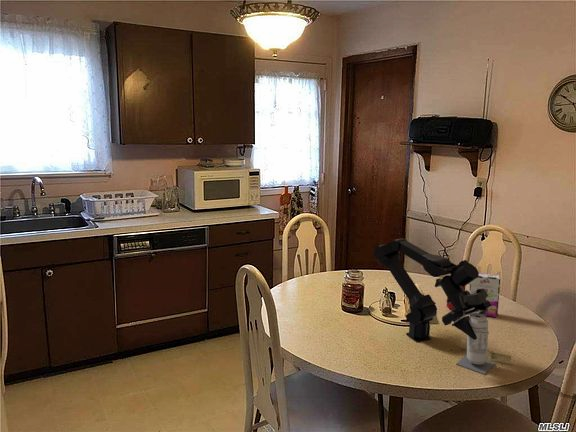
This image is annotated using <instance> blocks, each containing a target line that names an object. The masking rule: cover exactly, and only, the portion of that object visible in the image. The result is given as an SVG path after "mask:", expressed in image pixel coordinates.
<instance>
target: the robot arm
mask: <svg viewBox="0 0 576 432" xmlns="http://www.w3.org/2000/svg"><path fill="white" fill-rule="evenodd" d="M400 253H401V254H403V255H405V256H406V257H408V258H410V259H411V260H413V261H415V262H416V263H418V264H420V265H421V266H422V267H423V269H424V271H425V272H426V273H427V274H429V275H430V276H431V277H433V278H436V279H435V283H434V284H435V285H434V287H435V288H438V287H440V288H441V289H442V291H443V292H444V294H445V295H446V298H447V297H448V300H447V299H446V304H447V303H451V304H452V306H453V308H454V309H455V310H451V311H449V312H448V313H446V314H444V315H443V316H441V321H442V323H443V324H444V326H445V327H446V326H448V325H451V326H452V327H455V328H456V329H458V330H459V331H461V332H462V333H464V334H465V335H468V336H470V337H471V338H472V339H474V340H476V339H477V337H476V335H475V333H474V331H473V329H472V327H471V325H470V323H469V317H470V314H472V313H480V314H484V315H485V314H486V311H487V310H488V308H489V307H491V306H492V305H491V304H490V302H489V301H488V300H486V298H487V297H488V294H487V293H486V291H485V290H484V289H483V288H482V289H478V290H476V293H473V294H470V293H469V290H467V289H465V291H464V290H463V288H462V286H465V287H466V286H467V285H470V282H472V281H473V280H475V279H476V278H478V276H479V273H480V272H479V270H478V268H477V267H476V266H474V265H473V264H472V263H470V262H468V260H467V259H464V260H461V261H460V262H459V263H458V264H455V263H454V262H452V261H451V260H450V259H449V258H447V257H444V256H441V255H438V254H432V253H429V252H428V251H426V250H425V249H422V248H420V247H419V246H417V245H415V244H413V243H412V242H411V241H410V242H409V241H408V240H407V239H406V238H403V237H402V238H396V239H394V240H393V241H391V242H388V243H386V244H380V245H376V246H375V248H374V251H373V256H374V258H375V259H376V261H377V262H378V263H379V264H380V265H382V266H383V267H385V268H387V270H388V271H389V272H390V273H391V275H392V277H393V278H394V280H395V282H396V283H397V284H398V286H399V287H400V289H401V290H402V292H403V293H404V295H405V296H406V298H407V299H408V303H409V304H408V305H409V310H410V312H409V313H407V314H406V315H405V319H406V322H408V323H409V328H408V332H406V333H405V335H406V336H408V337H409V338H410V339H412V340H413V341H414V342H416V343H417V342H422V341H429V340H432V337H431V336H430V335H431V334H430V332H431V331H430V330H431V323H430V321H433V319H434V318H435V317H436V316H437V314H438V307H437V305H436V304H437V303H436V302H435V301H434V300H433V298H432V297H431V295H430V294H425V295H424V294H423V293H421V291H420V289H419V288H418V286H417V285H416V284H415V282H414V281H413V279H412V278H411V277H410V274H409V273H408V272H407V270H406V269H405V268H404V266H403V265H402V262H400ZM441 276H442V277H441ZM437 277H438V278H437ZM439 277H440V278H439ZM452 322H453V323H452ZM489 334H490V332H488V335H489Z"/></svg>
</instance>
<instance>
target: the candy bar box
mask: <svg viewBox="0 0 576 432" xmlns="http://www.w3.org/2000/svg"><path fill="white" fill-rule="evenodd" d="M501 280H502V279H501V274H492V273H482V272H479V276H478V278H476V279H475V280H473V281H472V282H470V283H469V290H468V291H469V293H470V294H473V293H476V290H478V289H482V288H483V289H484V290H485V291H486V293H487V294H488V297H487V298H486V300H488V301H489V302H490V304H491V305H492V306H491V307H489V308H488V310H487V311H486V314H485V315H486V317H489V318H498V313H499V302H500V290H501Z"/></svg>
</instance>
